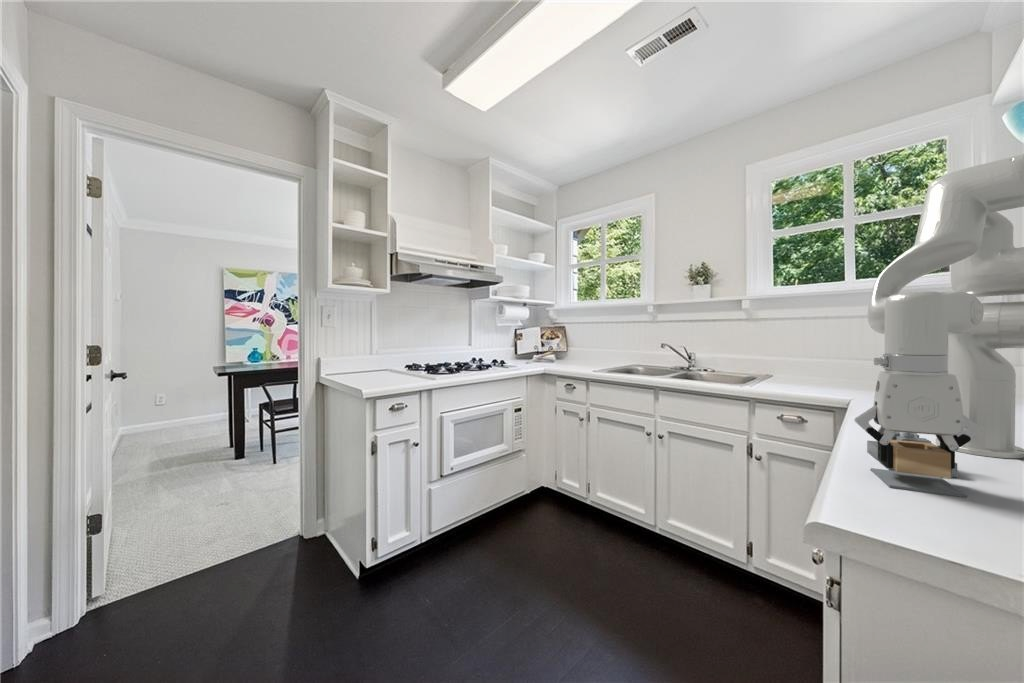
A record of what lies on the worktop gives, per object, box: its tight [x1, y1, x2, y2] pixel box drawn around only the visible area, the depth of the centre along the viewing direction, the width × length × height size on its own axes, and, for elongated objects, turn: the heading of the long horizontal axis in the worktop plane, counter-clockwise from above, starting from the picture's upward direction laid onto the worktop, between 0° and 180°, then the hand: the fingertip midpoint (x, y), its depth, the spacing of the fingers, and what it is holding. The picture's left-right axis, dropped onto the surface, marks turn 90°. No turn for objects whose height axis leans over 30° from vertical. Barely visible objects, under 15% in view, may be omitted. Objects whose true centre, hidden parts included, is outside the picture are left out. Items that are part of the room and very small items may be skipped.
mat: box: [870, 467, 968, 498], centre depth 67 cm, size 9×9×1 cm
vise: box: [866, 432, 958, 478], centre depth 78 cm, size 17×9×10 cm, turn 152°
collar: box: [890, 440, 952, 479], centre depth 67 cm, size 6×6×4 cm
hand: (914, 468), depth 67 cm, fingers closed on collar, 6 cm apart
